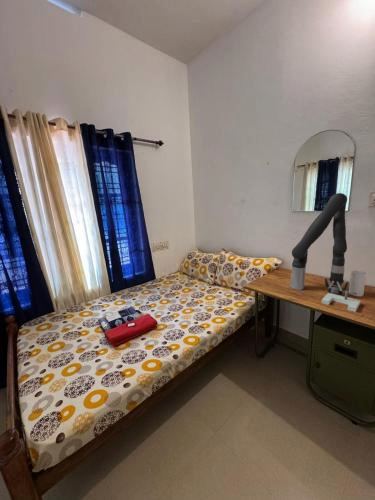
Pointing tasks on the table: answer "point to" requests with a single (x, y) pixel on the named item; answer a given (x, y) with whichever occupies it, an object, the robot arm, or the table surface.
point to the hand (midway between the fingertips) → (334, 294)
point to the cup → (357, 282)
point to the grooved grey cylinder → (335, 290)
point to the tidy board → (342, 300)
